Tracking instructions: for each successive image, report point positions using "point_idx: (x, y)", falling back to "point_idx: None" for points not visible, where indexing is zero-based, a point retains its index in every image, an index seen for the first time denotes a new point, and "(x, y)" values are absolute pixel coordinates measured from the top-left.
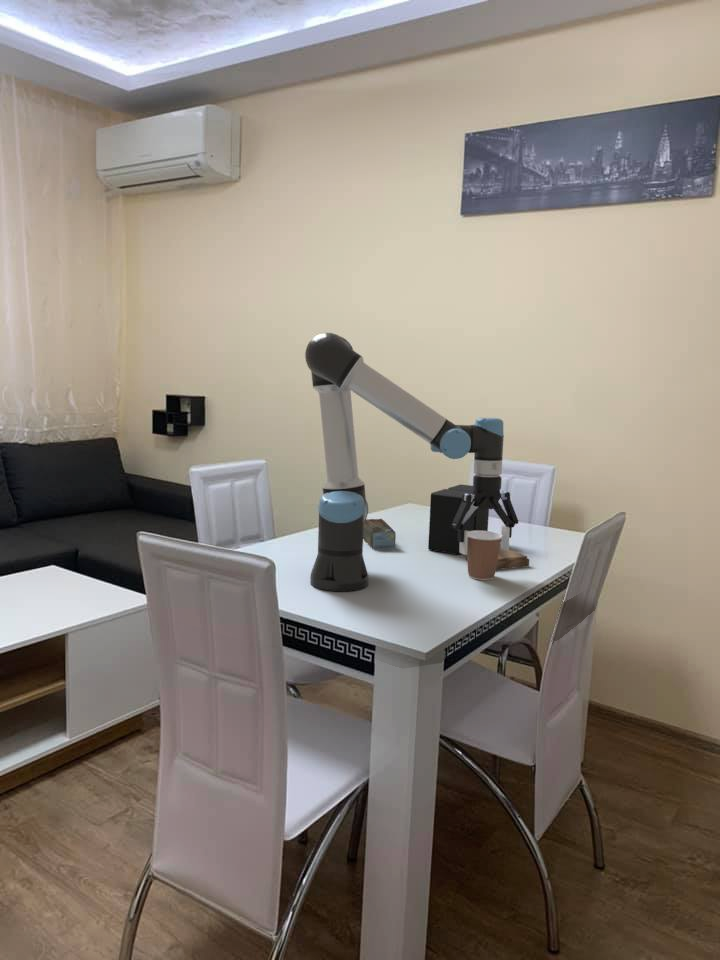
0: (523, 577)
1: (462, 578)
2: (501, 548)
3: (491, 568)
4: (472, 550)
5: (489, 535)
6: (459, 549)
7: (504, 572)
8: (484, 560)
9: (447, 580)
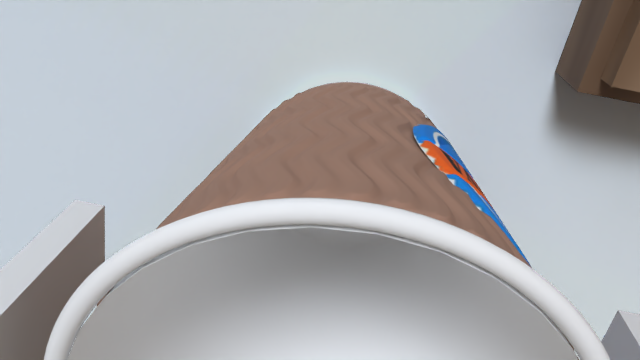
0: (601, 311)
1: (192, 134)
2: (613, 321)
3: (335, 314)
4: (157, 324)
5: (563, 344)
6: (57, 216)
7: (607, 173)
8: (258, 345)
9: (59, 119)
